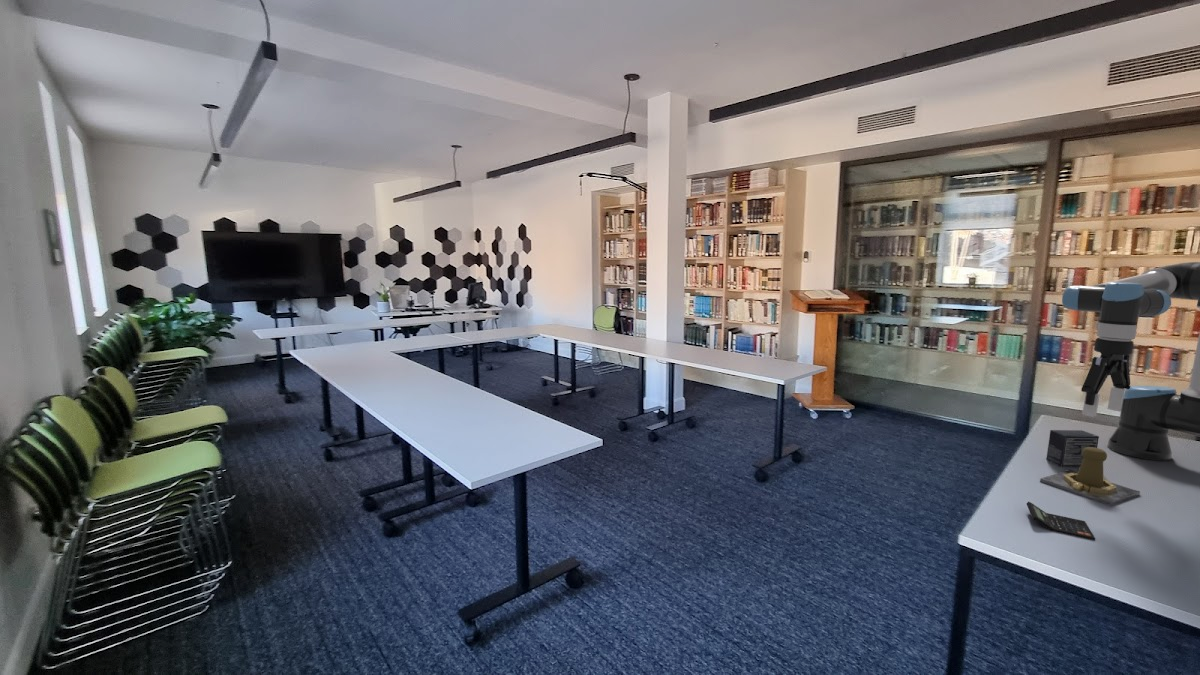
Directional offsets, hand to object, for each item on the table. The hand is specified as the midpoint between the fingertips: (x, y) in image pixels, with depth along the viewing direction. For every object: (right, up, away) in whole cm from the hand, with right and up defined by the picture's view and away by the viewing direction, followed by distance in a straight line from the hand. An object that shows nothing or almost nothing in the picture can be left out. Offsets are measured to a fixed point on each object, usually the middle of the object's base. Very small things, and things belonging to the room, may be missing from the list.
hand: (1101, 413), depth 145 cm
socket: (0, -22, +4) cm, 23 cm away
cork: (0, -21, +4) cm, 22 cm away
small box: (+10, -20, +21) cm, 31 cm away
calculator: (-27, -26, -17) cm, 41 cm away
